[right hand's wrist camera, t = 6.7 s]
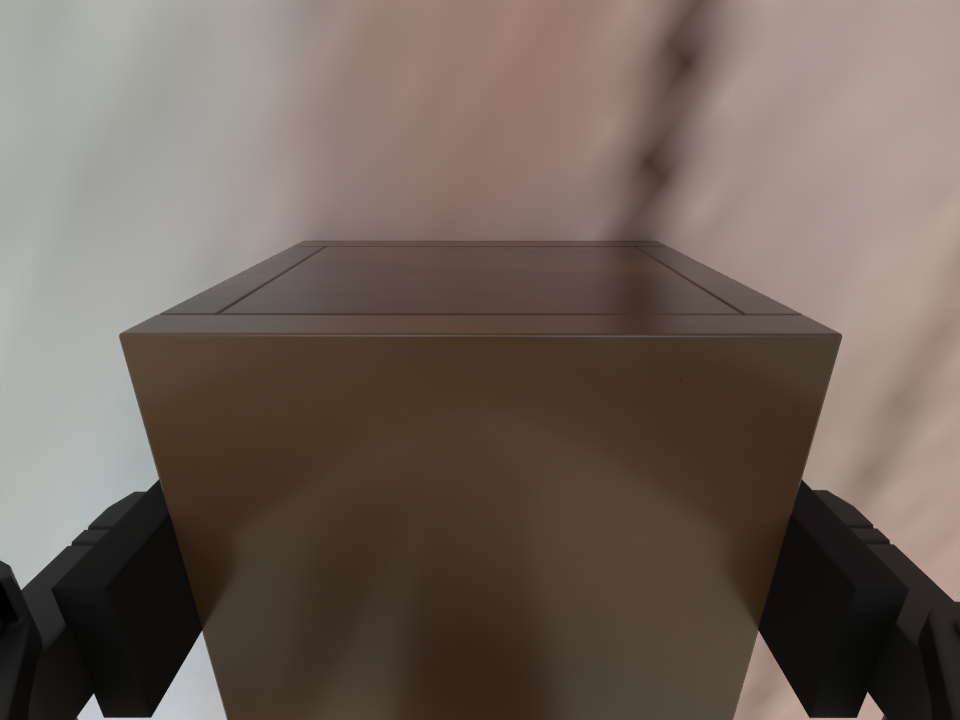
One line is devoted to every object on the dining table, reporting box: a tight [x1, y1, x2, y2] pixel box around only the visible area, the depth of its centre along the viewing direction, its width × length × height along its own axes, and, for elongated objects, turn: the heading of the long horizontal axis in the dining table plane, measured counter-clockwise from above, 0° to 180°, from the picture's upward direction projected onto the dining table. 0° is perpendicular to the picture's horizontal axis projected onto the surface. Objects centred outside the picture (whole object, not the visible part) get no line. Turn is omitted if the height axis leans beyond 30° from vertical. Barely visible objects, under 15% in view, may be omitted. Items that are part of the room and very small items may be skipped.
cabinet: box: [119, 241, 842, 720], centre depth 14 cm, size 16×10×8 cm, turn 0°
